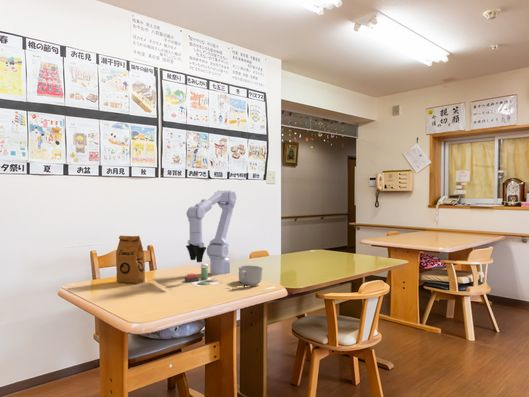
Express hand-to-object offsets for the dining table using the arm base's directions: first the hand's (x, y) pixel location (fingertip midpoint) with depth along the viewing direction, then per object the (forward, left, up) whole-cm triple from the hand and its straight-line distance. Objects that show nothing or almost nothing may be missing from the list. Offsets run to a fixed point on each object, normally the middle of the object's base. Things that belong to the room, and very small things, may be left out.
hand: (196, 261), depth 182 cm
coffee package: (+25, -17, -10) cm, 32 cm away
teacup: (-17, +20, -10) cm, 28 cm away
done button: (+3, +2, -7) cm, 8 cm away
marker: (-3, +2, -9) cm, 9 cm away
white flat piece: (-1, +7, -10) cm, 12 cm away
